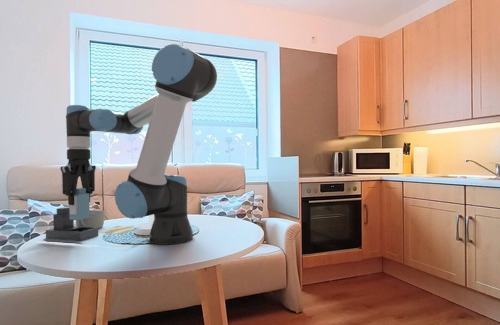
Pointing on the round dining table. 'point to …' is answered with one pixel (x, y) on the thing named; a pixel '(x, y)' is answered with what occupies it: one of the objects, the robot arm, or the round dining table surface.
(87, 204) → the plug
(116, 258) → the round dining table surface
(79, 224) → the teacup
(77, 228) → the dark grey block holder
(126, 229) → the board
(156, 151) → the robot arm
